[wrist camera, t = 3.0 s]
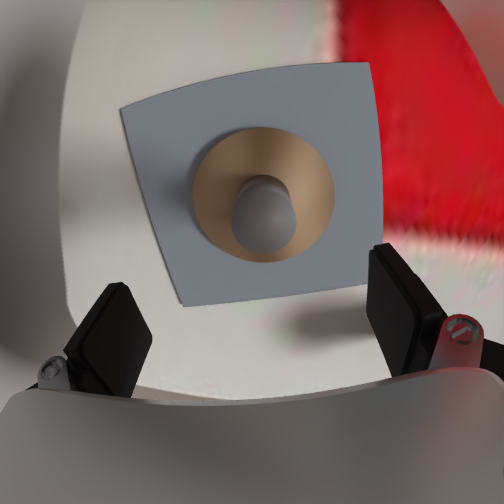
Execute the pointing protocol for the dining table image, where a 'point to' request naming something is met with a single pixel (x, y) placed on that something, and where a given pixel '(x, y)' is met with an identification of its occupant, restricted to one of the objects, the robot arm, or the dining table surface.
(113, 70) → the dining table surface
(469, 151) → the dining table surface
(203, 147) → the mat
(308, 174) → the lid
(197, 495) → the robot arm
